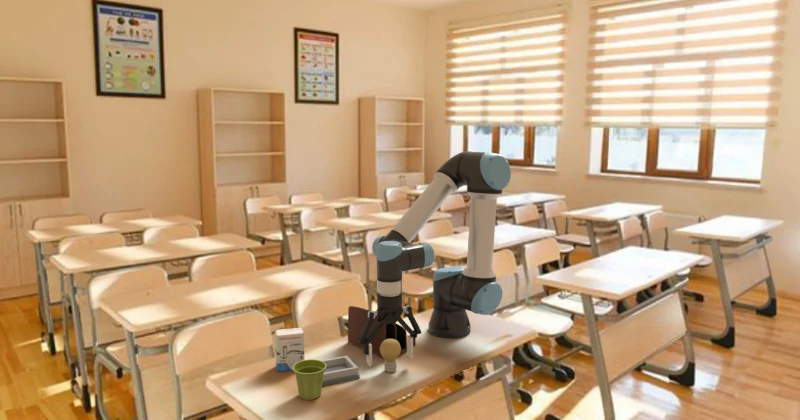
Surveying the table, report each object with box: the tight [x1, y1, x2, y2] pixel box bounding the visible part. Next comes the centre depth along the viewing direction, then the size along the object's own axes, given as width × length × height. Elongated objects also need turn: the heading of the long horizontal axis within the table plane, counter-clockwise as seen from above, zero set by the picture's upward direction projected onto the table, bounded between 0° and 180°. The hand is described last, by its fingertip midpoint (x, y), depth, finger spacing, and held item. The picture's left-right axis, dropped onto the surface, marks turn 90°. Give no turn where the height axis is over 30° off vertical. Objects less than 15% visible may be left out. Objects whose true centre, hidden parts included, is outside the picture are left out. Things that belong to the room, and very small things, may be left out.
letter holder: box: [347, 305, 408, 360], centre depth 202 cm, size 10×20×14 cm, turn 41°
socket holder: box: [320, 355, 361, 387], centre depth 181 cm, size 13×12×3 cm
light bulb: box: [380, 339, 401, 373], centre depth 183 cm, size 6×6×10 cm
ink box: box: [274, 327, 305, 372], centre depth 187 cm, size 9×5×12 cm, turn 105°
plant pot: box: [292, 358, 326, 401], centre depth 168 cm, size 9×9×9 cm
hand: (389, 360), depth 184 cm, fingers open, 13 cm apart
